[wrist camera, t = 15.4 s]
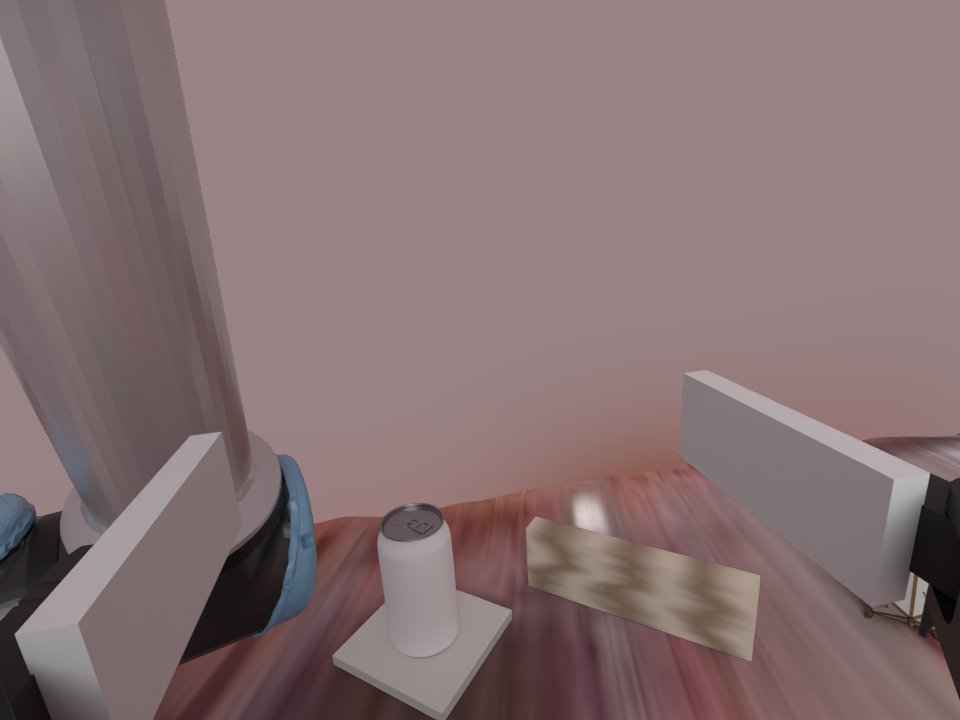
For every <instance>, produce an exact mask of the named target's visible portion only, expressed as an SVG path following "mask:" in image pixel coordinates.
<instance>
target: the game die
mask: <svg viewBox="0 0 960 720" xmlns="http://www.w3.org/2000/svg"><path fill="white" fill-rule="evenodd" d="M927 589H928V583H927V582H925V581H924V580H922V579H921V578H919V577H918V576H916V575H915V574H913V573H912V572H910V576H909V581H908V586H907V591H906V596H905V600H901V601H897V602H892V603H888V604H883V605H879V606H874V607H870V608H871V610H870V611H868V612H865V613H866V615H865V618H871V617H872V616H873V614H874V613H876V614H879V615H883V616H886V617H889V618H892V619H896V620H899V621H902V622H906V623H907V624H908V625H910V626H911V627H913V626H920V621H921V617H922V612H923V607H924V603H925V598H926V593H927ZM929 630H932V631H933V635H934V637H935V638H937V637H938V636H937V633H936V631H935V628H934V627H932V628H930V629H929Z"/></svg>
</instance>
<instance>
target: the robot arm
mask: <svg viewBox="0 0 960 720" xmlns="http://www.w3.org/2000/svg"><path fill="white" fill-rule="evenodd" d="M0 346H1V348H2V349H3V351H4V353H5V355H6V357H7V359H8V361H9V363H10V365H11V366H12V369H13V371H14V372H15V374H16V376H17V378H18V380H19V382H20V384H21V386H22V388H23V390H24V392H25V393H26V395H27V397H28V399H29V401H30V403H31V405H32V407H33V409H34V411H35V412H36V414H37V416H38V418H39V420H40V422H41V424H42V426H43V428H44V430H45V432H46V434H47V435H48V437H49V439H50V441H51V443H52V445H53V447H54V449H55V451H56V453H57V455H58V456H59V458H60V460H61V462H62V464H63V466H64V468H65V470H66V472H67V474H68V475H69V478H70V480H71V481H72V483H73V485H74V488H73V489H72V491H71V492H70V494H69V496H68V498H67V500H66V502H65V505H64V508H63V511H60V512H56V513H52V514H48V515H44V516H39V517H36V511H35V508H34V505H32V504H30V503H28V502H27V500H26V499H25V498H23V497H22V496H19V495H16V494H7V493H5V494H3V495H0V720H153V718H154V716H155V714H156V712H157V710H158V707H159V705H160V703H161V701H162V699H163V696H164V694H165V692H166V690H167V688H168V686H169V683H170V681H171V679H172V677H173V675H174V672H175V670H176V668H177V666H178V665H181V664H183V663H186V662H188V661H190V660H193V659H195V658H198V657H200V656H203V655H205V654H208V653H210V652H213V651H215V650H218V649H220V648H223V647H225V646H228V645H230V644H233V643H235V642H237V641H240V640H242V639H245V638H247V637H250V638H254V637H258V636H261V635H263V634H265V633H267V631H268V630H269V629H271V628H272V627H274V626H276V625H278V624H280V623H282V622H285V621H287V620H289V619H291V618H293V617H295V616H297V615H298V614H300V613H301V612H302V611H303V610H304V609H305V608H306V607H307V606H308V604H309V602H310V600H311V598H312V596H313V593H314V589H315V584H316V573H317V554H316V545H315V541H314V538H313V531H314V526H313V517H312V511H311V505H310V501H309V496H308V492H307V488H306V485H305V482H304V479H303V476H302V474H301V471H300V469H299V466H298V464H297V463H296V461H295V460H294V459H293V458H292V457H290V456H288V455H276V454H275V453H274V451H273V450H272V449H271V447H270V446H269V445H268V443H267V442H265V441H264V440H263V439H262V438H260V437H259V436H257V435H256V434H254V433H252V432H250V431H248V430H247V427H246V422H245V417H244V412H243V406H242V401H241V396H240V391H239V385H238V380H237V375H236V370H235V364H234V359H233V354H232V349H231V343H230V338H229V333H228V328H227V323H226V318H225V313H224V307H223V302H222V296H221V291H220V286H219V281H218V275H217V270H216V265H215V260H214V254H213V250H212V244H211V239H210V233H209V229H208V223H207V218H206V213H205V208H204V202H203V197H202V192H201V186H200V181H199V176H198V171H197V166H196V160H195V155H194V150H193V145H192V139H191V134H190V129H189V124H188V118H187V113H186V108H185V103H184V98H183V92H182V87H181V82H180V77H179V71H178V66H177V61H176V56H175V50H174V45H173V40H172V35H171V29H170V24H169V19H168V14H167V9H166V3H165V0H0ZM683 378H684V379H683V398H682V418H681V419H682V420H681V439H680V457H682V458H683V459H684V460H685V461H687V462H688V463H689V464H690V465H692V466H693V467H694V468H696V469H697V470H698V471H699V472H701V473H702V474H703V475H704V476H706V477H707V478H708V479H709V480H711V481H712V482H713V483H715V484H716V485H717V486H718V487H720V488H721V489H722V490H723V491H725V492H726V493H727V494H728V495H730V496H731V497H732V498H734V499H735V500H736V501H737V502H739V503H740V504H741V505H742V506H744V507H745V508H746V509H747V510H749V511H750V512H751V513H753V514H754V515H755V516H756V517H758V518H759V519H760V520H761V521H763V522H764V523H765V524H766V525H768V526H769V527H770V528H772V529H773V530H774V531H775V532H777V533H778V534H779V535H780V536H782V537H783V538H784V539H785V540H787V541H788V542H789V543H791V544H792V545H793V546H794V547H796V548H797V549H798V550H799V551H801V552H802V553H803V554H805V555H806V556H807V557H808V558H810V559H811V560H812V561H813V562H815V563H816V564H817V565H818V566H820V567H821V568H822V569H824V570H825V571H826V572H827V573H829V574H830V575H831V576H832V577H834V578H835V579H836V580H837V581H839V582H840V583H841V584H843V585H844V586H845V587H846V588H848V589H849V590H850V591H851V592H853V593H854V594H855V595H856V596H858V597H859V598H860V599H862V600H863V601H864V602H865V603H867V604H868V605H869V606H870V607H874V606H879V605H883V604H888V603H892V602H897V601H901V600H905V596H906V591H907V586H908V581H909V576H910V572H912V573H913V574H915V575H916V576H918V577H919V578H921V579H922V580H924V581H925V582H927V583H928V589H927V593H926V598H925V603H924V607H923V612H922V617H921V621H920V626H919V636H923V637H926V636H927V632H928V629H930V628H932V627H934V628H935V631H936V633H937V636H938V637H937V640H938V641H939V642H940V645H941V648H942V651H943V653H944V656H945V659H946V662H947V665H948V668H949V671H950V674H951V676H952V679H953V682H954V685H955V688H956V691H957V694H958V696H959V699H960V478H957V479H955V480H953V481H951V482H948V481H946V480H944V479H942V478H940V477H938V476H935V475H933V474H931V473H929V472H927V471H925V470H922V469H920V468H918V467H916V466H914V465H912V464H909V463H907V462H905V461H903V460H901V459H899V458H896V457H894V456H892V455H890V454H888V453H885V452H883V451H881V450H879V449H877V448H875V447H872V446H870V445H868V444H866V443H864V442H862V441H859V440H857V439H855V438H853V437H851V436H849V435H846V434H844V433H842V432H840V431H838V430H836V429H833V428H831V427H829V426H827V425H825V424H822V423H820V422H818V421H816V420H814V419H812V418H809V417H807V416H805V415H803V414H801V413H798V412H796V411H794V410H792V409H790V408H788V407H785V406H783V405H781V404H779V403H777V402H775V401H773V400H770V399H768V398H766V397H764V396H762V395H759V394H757V393H755V392H753V391H751V390H748V389H746V388H744V387H742V386H740V385H738V384H735V383H733V382H731V381H729V380H727V379H725V378H722V377H720V376H718V375H716V374H714V373H712V372H710V371H707V370H705V371H697V372H689V373H684V377H683Z"/></svg>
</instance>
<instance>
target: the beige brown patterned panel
mask: <svg viewBox="0 0 960 720" xmlns="http://www.w3.org/2000/svg"><path fill="white" fill-rule="evenodd" d="M526 543H527V564H528V586H530V587H533V588H536V589H539V590H542V591H545V592H548V593H551V594H554V595H557V596H560V597H563V598H566V599H569V600H571V601H574V602H577V603H580V604H583V605H586V606H589V607H592V608H595V609H598V610H601V611H604V612H607V613H610V614H613V615H616V616H619V617H621V618H624V619H627V620H630V621H633V622H636V623H639V624H642V625H645V626H648V627H651V628H654V629H657V630H660V631H663V632H666V633H669V634H671V635H674V636H677V637H680V638H683V639H686V640H689V641H692V642H695V643H698V644H701V645H704V646H707V647H710V648H713V649H716V650H719V651H721V652H724V653H727V654H730V655H733V656H736V657H739V658H742V659H745V660H748V661H751V662H752V653H753V644H754V634H755V625H756V615H757V606H758V596H759V585H760V575H756V574H753V573H749V572H745V571H741V570H737V569H734V568H730V567H726V566H722V565H718V564H714V563H711V562H707V561H703V560H699V559H695V558H692V557H688V556H684V555H680V554H676V553H673V552H669V551H665V550H661V549H657V548H654V547H650V546H646V545H642V544H638V543H635V542H631V541H627V540H623V539H619V538H616V537H612V536H608V535H604V534H600V533H596V532H593V531H589V530H585V529H581V528H577V527H574V526H570V525H566V524H562V523H558V522H555V521H551V520H547V519H543V518H539V517H535V518H534V519H533V520H532V522H531V523H530V524H529V525H528V527H527V528H526Z"/></svg>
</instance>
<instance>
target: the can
mask: <svg viewBox="0 0 960 720" xmlns="http://www.w3.org/2000/svg"><path fill="white" fill-rule="evenodd" d="M377 547H378V556H379V563H380V570H381V577H382V584H383V591H384V598H385V605H386V612H387V619H388V626H389V632H390V638H391V641H392V644H393V645H394V647H395V648H396V649H397V650H398V651H399V652H401V653H402V654H405V655H407V656H409V657H413V658H427V657H431V656H434V655H437V654H439V653H441V652H442V651H444V650H445V649H446V648H447V647H448V646H449V645H450V644H451V643H452V642H453V641H454V639H455V638H456V636H457V634H458V630H459V616H458V605H457V594H456V583H455V573H454V562H453V552H452V543H451V534H450V529H449V527H448V525H447V523H446V522H445V520H444V514H443V512H442V511H441V510H440V509H439V508H438V507H436V506H433V505H430V504H425V503H412V504H407V505H403V506H400V507H397V508H395V509H393V510H391V511H390V512H388V513H387V514H386V515H385V516H384V517H383V518H382V520H381V522H380V533H379V536H378V540H377Z"/></svg>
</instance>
